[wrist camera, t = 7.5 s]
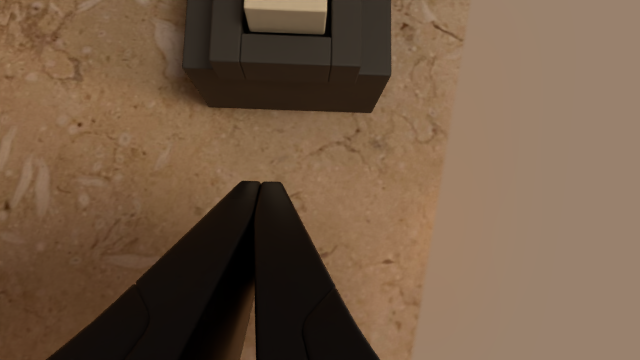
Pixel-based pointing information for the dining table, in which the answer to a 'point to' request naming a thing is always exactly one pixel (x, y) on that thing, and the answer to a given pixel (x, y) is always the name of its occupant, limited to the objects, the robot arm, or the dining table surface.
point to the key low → (286, 16)
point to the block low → (289, 58)
